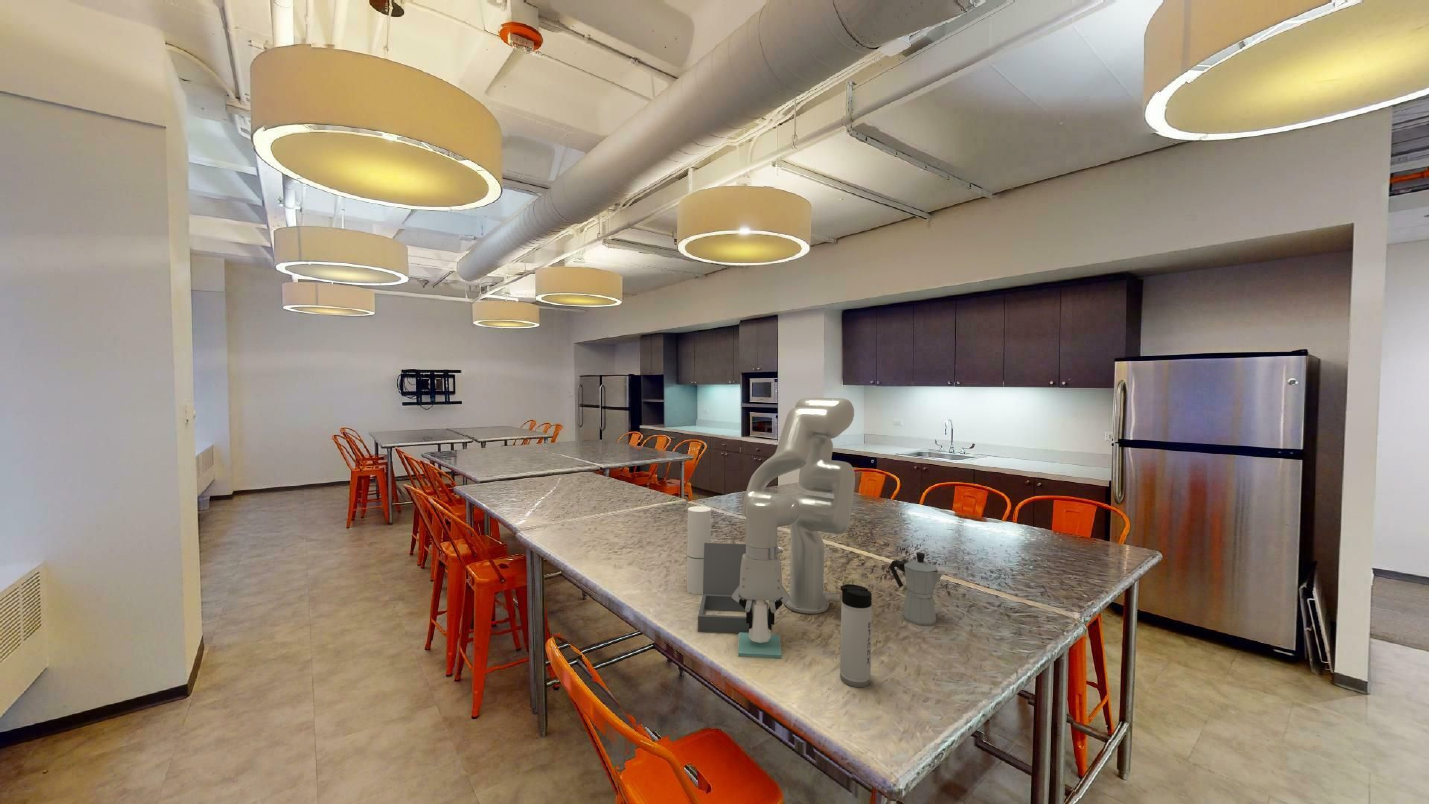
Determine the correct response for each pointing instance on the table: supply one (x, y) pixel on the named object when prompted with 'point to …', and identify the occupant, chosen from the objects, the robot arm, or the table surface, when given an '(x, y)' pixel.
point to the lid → (722, 567)
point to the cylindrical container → (697, 546)
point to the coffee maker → (918, 589)
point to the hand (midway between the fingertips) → (760, 625)
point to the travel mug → (855, 635)
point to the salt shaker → (760, 622)
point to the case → (719, 621)
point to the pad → (759, 647)
